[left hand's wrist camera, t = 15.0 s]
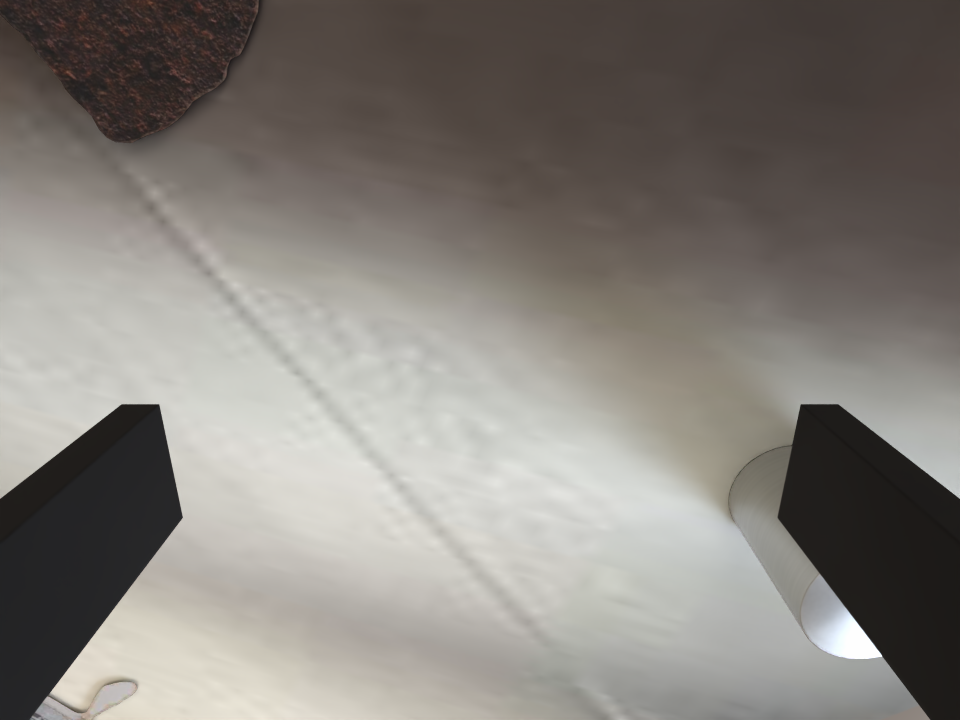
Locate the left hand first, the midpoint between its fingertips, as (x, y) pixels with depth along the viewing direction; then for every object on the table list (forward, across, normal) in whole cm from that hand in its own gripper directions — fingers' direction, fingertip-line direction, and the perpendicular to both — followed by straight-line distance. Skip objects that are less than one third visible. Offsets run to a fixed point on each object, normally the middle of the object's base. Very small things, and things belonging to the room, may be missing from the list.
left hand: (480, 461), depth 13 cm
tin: (+26, +22, -18) cm, 39 cm away
